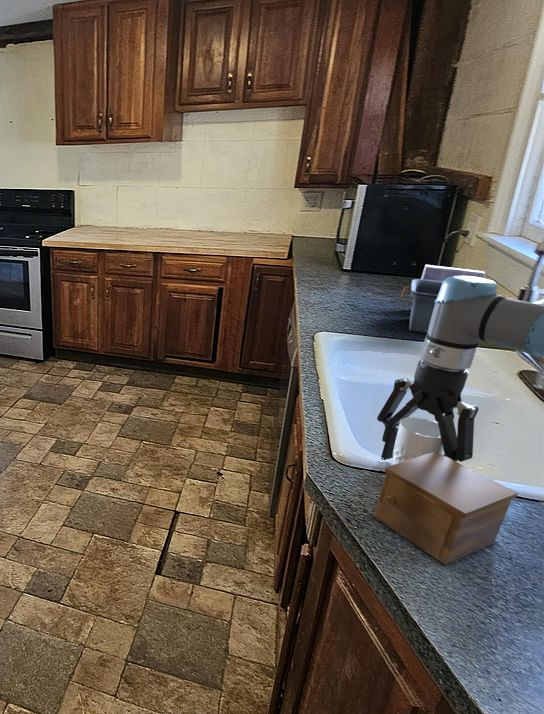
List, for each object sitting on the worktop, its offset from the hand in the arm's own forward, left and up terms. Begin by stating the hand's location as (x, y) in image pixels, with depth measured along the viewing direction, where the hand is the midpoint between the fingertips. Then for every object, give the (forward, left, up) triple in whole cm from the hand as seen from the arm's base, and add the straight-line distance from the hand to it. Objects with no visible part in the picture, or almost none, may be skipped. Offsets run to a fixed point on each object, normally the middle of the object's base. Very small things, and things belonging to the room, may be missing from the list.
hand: (410, 471), depth 102 cm
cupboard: (-13, +13, 0) cm, 18 cm away
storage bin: (+59, -89, 0) cm, 107 cm away
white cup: (0, 0, 0) cm, 0 cm away
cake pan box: (+65, -110, 0) cm, 128 cm away
